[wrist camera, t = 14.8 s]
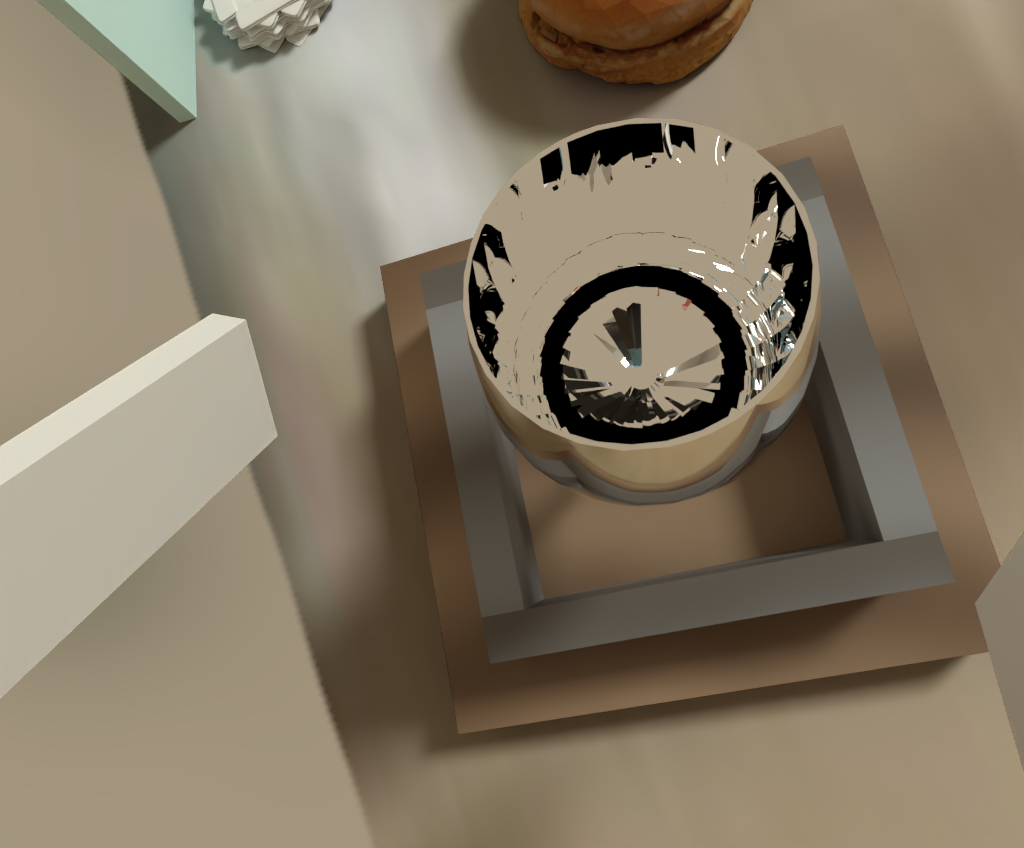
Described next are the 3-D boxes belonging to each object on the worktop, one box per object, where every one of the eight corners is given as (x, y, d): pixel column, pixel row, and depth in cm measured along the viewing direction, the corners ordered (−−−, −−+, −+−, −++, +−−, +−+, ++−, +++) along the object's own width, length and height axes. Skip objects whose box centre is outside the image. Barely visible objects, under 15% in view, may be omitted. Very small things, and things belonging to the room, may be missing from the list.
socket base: (990, 634, 19) (1106, 668, 14) (476, 716, 22) (423, 768, 17) (827, 160, 22) (873, 55, 17) (401, 286, 25) (340, 228, 20)
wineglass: (574, 534, 20) (457, 533, 8) (541, 360, 21) (399, 149, 10) (765, 500, 19) (933, 445, 7) (719, 319, 20) (801, 24, 8)
